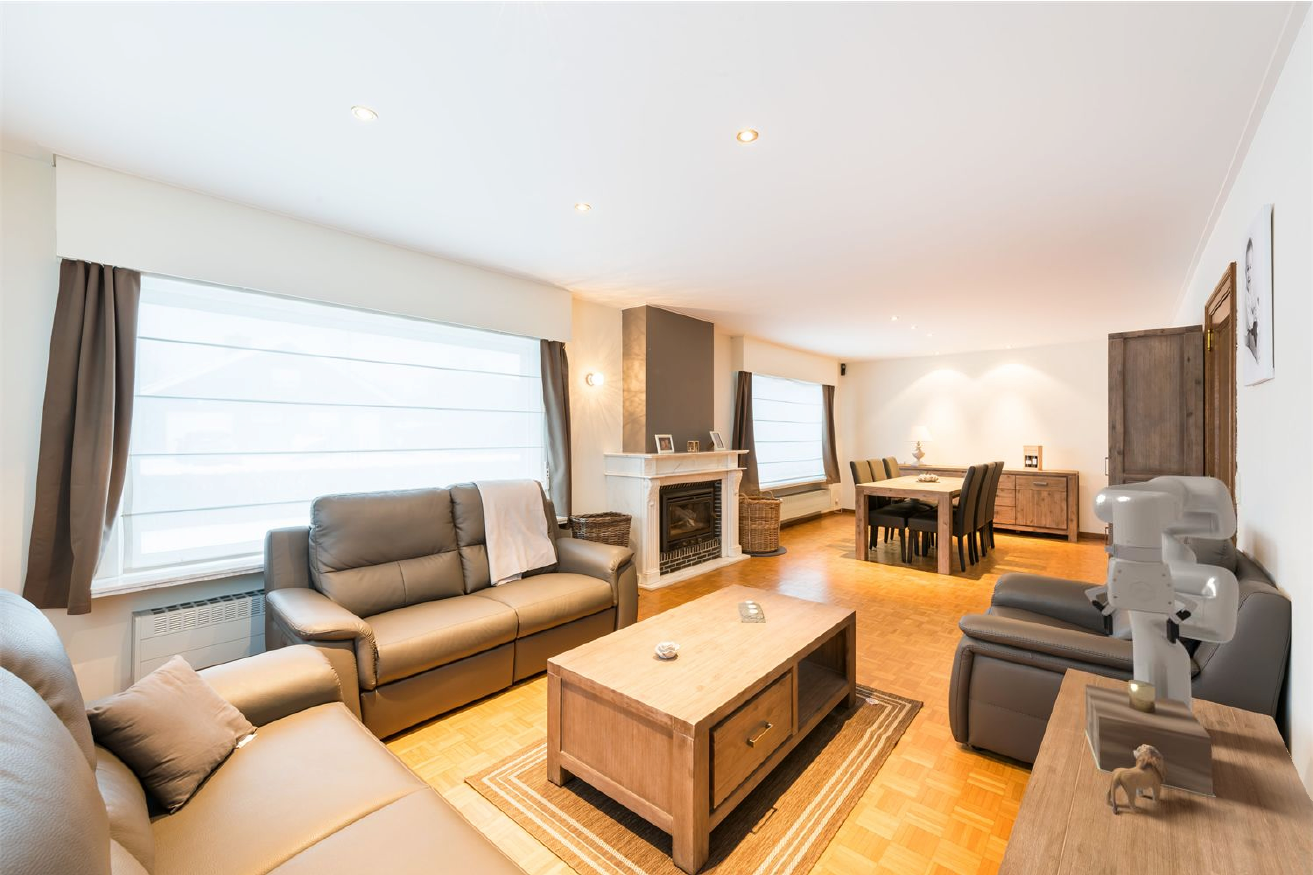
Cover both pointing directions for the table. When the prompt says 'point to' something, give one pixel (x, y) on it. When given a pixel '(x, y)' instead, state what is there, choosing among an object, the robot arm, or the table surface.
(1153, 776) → the lion figurine
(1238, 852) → the table surface
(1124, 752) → the walnut cover
